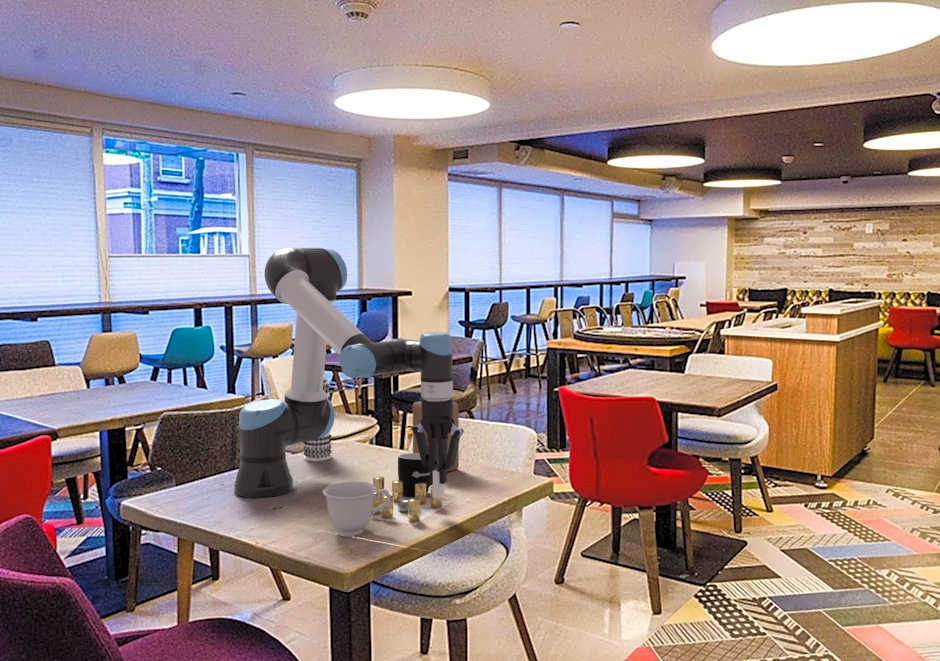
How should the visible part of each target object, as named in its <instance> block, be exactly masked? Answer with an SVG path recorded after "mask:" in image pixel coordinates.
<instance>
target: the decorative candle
mask: <svg viewBox="0 0 940 661" xmlns="http://www.w3.org/2000/svg"><path fill="white" fill-rule="evenodd" d="M329 384H330V381H328V380H327V378H326V377H324V378H323V390H324V392H325V393H326V394H327V399H328V400H329V401H330V402H332V400H333V399H332V398H331V394H330V389H329V386H330V385H329ZM331 438H332V434H331V431H330V432H329V433H328V434H327V435H325V436H324V437H322V438H318V439H316V440H314V441H307V442H302V443H303V444H304V446H303V448H302V449H303V452H302V454H303V455H304V456H303V459H304V460H305V461H308V462H323V461H327V460H330V459H331V458H332V453H333V452H332V450H331V449H332V445H331V442H332V439H331Z"/></svg>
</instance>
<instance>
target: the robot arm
mask: <svg viewBox="0 0 940 661" xmlns="http://www.w3.org/2000/svg"><path fill="white" fill-rule="evenodd" d="M347 280H348V269H347V266H346V262H345V260H344V259H343V257H342V255H341V254H340V253H339V252H337V251H336V250H334V249H332V248H325V247H285V248H282V249H279V250H277V251H276V252H273V254H272V255H271V256H270V257H269V258H268V259H267V261H266V264H265V266H264V281H265V284H266V286H267V288H268V290H269V291H270V292H271V294H272V295H273V296H274V297H275V298H276V299H277V300H278V301H279V302H280V303H283V304H288V305H289V306H290V307H291V309H293V310H294V312H296V319H295V330H294V331H295V334H294V343H293V344H294V346H293V355H292V356H293V357H292V358H293V359H292V368H291V369H292V371H291V372H292V373H291V380H290V381H291V382H290V383H291V385H290V387H289V388H288V389H287V390H285V392H284V400H282V399H279V398H276V399H275V398H270V399H269V398H268V399H261V400H256V401H253V402H250V403H248V404H246V405H244V406H243V407H242V408H241V410H240V411H239V418H238V419H239V420H238V421H239V422H238V428H239V450H240V451H239V454H240V455H239V456H240V464H239V467H238V470H237V475H236V476H235V477H236V478H235V480H234V483H233V484H234V486H233V487H234V494H236V495H238V496H240V497H245V498H255V499H256V498H269V497H275V496H280V495H283V494H286V493H289V492H291V491H292V490H293V488H294V480H293V476H292V475H291V471H290V467H289V465H288V463H287V457H286V456H287V455H286V447H288V446H293V445H297V444H301V443H303V442H307V441H314V440H316V439H318V438H322V437H324V436H325V435H327V434H328V433H329V432H330V433H331V430H332V428H333V426H334V423H335V409H334V408H333V404H332V401H329V400H328V399H327V394H326V393H325V392H324V390H323V378H325V377H324V374H325V363H326V352H327V344H328V346H329V347H331V349H332V350H333V351H334V352H335V353H336V354H337V355H339V357H338V358H339V360H338V362H339V367H341V372H342V373H343V374H344V375H345V376H346V377H348V378H350V379H356V378H357V379H358V378H360V379H364V378H365V379H366V378H368V377H374V376H379V375H384V374H393V373H398V372H404V371H405V372H417V373H418V372H419V373H420V397H421V398H422V399H421V414H422V418H421V421H420V423H419V424H418V425H416V426H414V427H413V426H412V427H411V431H412V434H413V433H414V434H415V436H416V440H417V444H418V449H419V453H420V458H421V462H422V465H423V466H424V467H425V466H426V467H428V468H429V470H430V482H431V483H433V485H432V486H433V498H440V497H442V498H443V497H444V496H445V485H444V484H446V483H447V480H448V478H447V477H448V476H447V474H448V472H447V469H450V468H451V467H453V466H454V464H455V459H456V454H457V450H458V445H459V443H460V439H461V437H462V435H463V434H464V432H465V431H464V428H458V427H457V426H455V422H454V420H453V402H454V400H453V396H454V381H453V379H454V378H453V356H454V354H453V353H454V349H453V342H452V336H451V334H450V333H447V332H424V333H422V334H421V335H420V336H419V340H417V339H416V340H415V339H406V338H401V337H400V338H390V339H387V340H386V341H379V342H373V341H371V339H369V338H368V337H367V336H366V335H365V334H364V333H363V332H362V331H361V330H360V329H359V328H358V327H357V326H356V325H355V324H354V323H353V322H352V321H350V319H348V317H347V316H345V315H344V313H342V312H341V310H339V309H338V308H337V307H336V306H335V305H334V302H336V300H337V292H340V290H342V289H344V286H346V283H347ZM424 430H425V432H426V433H427V441H428V445H427V441H426V436H425V433H424ZM451 430H452V432H451V435H452V437H451V440H450V445H449V450H448V454H447V440H448V434H449V433H450V431H451ZM437 467H438V468H437Z"/></svg>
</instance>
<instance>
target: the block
mask: <svg viewBox="0 0 940 661" xmlns="http://www.w3.org/2000/svg"><path fill="white" fill-rule="evenodd" d="M421 401H422V400H421ZM421 401H420V400H419V401H415V402H413V404H412V427H414V426H416V425H418V424H419V423H420V421H421V418H422V414H421ZM459 413H460V412H459V404H458V402H455V401H453V420H454V422H455V426H457V427H458V428H459V416H460V415H459ZM459 429H460V428H459ZM451 432H452V430H451V431H450V433H449V434H448V440H447V454H448V450H449V445H450V440H451V437H452V435H451ZM424 433H425V436H426V441H427V433H426V432H425V430H424ZM427 445H428V441H427ZM459 449H460V448H459V445H458V450H457V454H456V459H455V464H454V466H453V467H451V468H450V469H447V473H448V472H451V471H456V470H458V469H459V460H460V459H459V457H460V456H459V452H460V451H459ZM412 453H417V454H420V453H419V449H418V444H417V440H416V436H415V434H414V433H413V432H412Z"/></svg>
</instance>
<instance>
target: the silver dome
mask: <svg viewBox="0 0 940 661" xmlns="http://www.w3.org/2000/svg"><path fill="white" fill-rule="evenodd" d="M411 498H414V497H404V498H400V499H399V500H398V511H399V512H400V513H405V514H408V499H411Z"/></svg>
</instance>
